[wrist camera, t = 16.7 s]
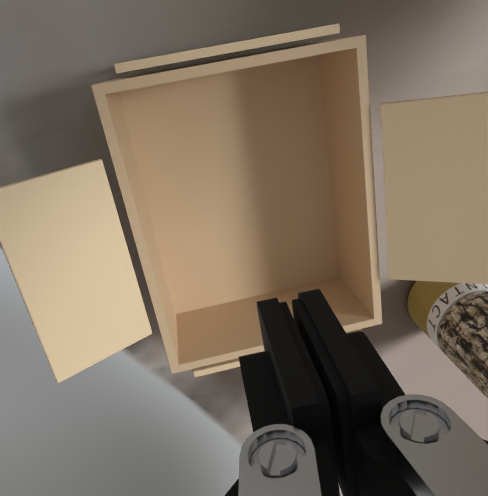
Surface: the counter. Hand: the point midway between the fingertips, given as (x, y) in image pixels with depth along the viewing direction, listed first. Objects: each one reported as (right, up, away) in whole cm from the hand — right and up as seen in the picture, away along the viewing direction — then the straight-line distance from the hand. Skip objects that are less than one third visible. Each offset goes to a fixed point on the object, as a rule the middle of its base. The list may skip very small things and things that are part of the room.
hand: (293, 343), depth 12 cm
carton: (-2, +7, +25) cm, 26 cm away
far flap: (+8, +6, +19) cm, 21 cm away
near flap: (-9, +2, +17) cm, 19 cm away
